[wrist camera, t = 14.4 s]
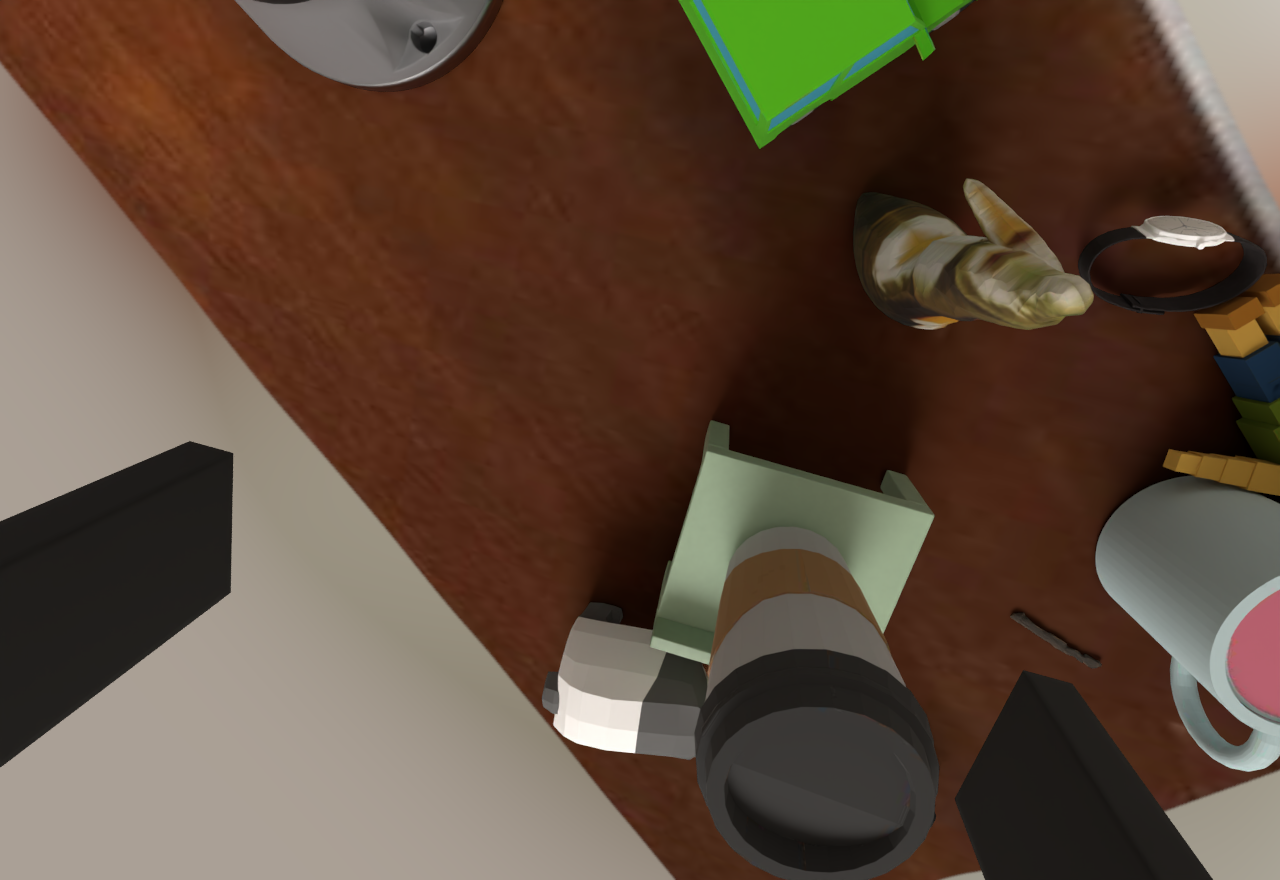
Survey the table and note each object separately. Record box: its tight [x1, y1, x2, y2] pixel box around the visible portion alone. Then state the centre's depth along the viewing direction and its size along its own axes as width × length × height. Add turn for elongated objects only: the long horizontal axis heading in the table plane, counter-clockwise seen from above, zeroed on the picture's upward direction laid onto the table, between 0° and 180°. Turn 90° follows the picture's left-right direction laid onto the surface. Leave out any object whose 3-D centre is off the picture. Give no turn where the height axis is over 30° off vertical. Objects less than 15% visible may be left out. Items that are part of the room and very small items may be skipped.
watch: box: [1078, 216, 1267, 315], centre depth 33 cm, size 8×5×4 cm, turn 88°
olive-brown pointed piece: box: [853, 179, 1094, 330], centre depth 27 cm, size 5×8×20 cm, turn 33°
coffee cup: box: [694, 527, 939, 880], centre depth 29 cm, size 8×8×15 cm
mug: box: [1095, 476, 1280, 771], centre depth 34 cm, size 14×9×10 cm
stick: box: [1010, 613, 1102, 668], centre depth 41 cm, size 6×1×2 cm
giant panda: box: [542, 602, 709, 760], centre depth 41 cm, size 15×6×10 cm, turn 83°
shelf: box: [650, 421, 934, 665], centre depth 38 cm, size 11×12×8 cm
